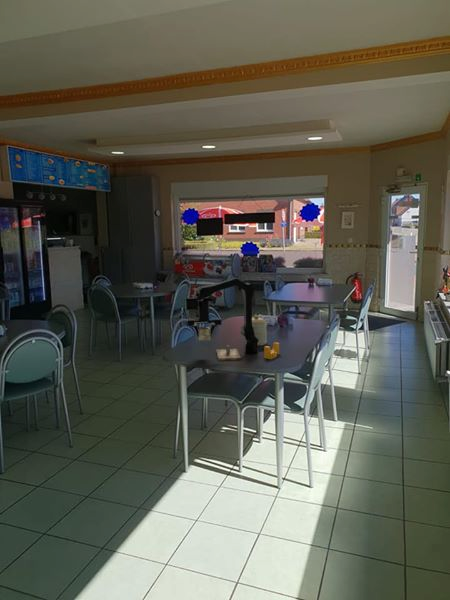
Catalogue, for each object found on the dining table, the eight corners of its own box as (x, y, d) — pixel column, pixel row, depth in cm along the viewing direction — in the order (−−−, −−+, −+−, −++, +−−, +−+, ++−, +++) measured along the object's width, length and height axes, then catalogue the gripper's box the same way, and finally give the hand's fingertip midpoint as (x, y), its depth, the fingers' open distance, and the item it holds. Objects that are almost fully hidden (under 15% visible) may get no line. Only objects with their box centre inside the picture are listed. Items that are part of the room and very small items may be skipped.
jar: (242, 344, 283) (242, 316, 280) (249, 339, 295) (249, 312, 292) (263, 346, 279) (263, 317, 276) (269, 341, 291) (269, 313, 288)
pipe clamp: (271, 359, 253) (271, 348, 252) (264, 358, 255) (264, 346, 254) (281, 354, 263) (282, 343, 262) (275, 353, 265) (275, 342, 264)
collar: (209, 337, 262) (209, 326, 261) (210, 340, 256) (210, 329, 255) (198, 337, 261) (198, 327, 260) (198, 340, 255) (198, 329, 254)
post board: (236, 350, 270) (236, 341, 269) (240, 359, 252) (240, 349, 251) (216, 351, 269) (216, 342, 268) (218, 360, 251) (218, 350, 250)
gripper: (219, 306, 265) (219, 333, 267) (186, 307, 263) (187, 334, 265) (221, 309, 254) (221, 337, 256) (186, 310, 252) (187, 339, 254)
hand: (204, 337), depth 258 cm, fingers closed on collar, 6 cm apart
